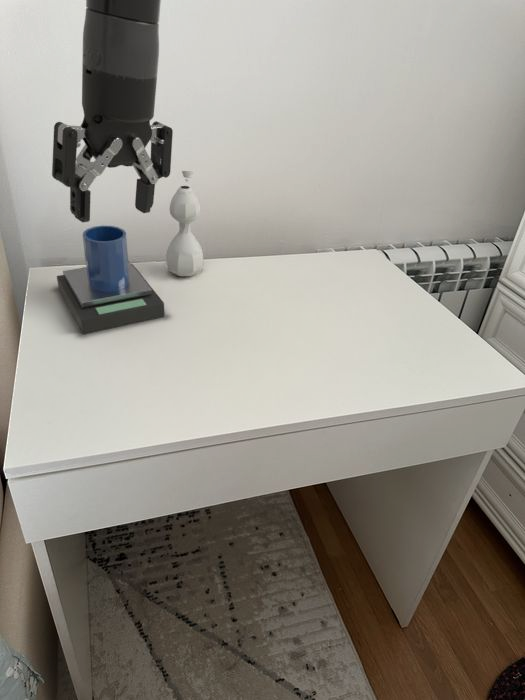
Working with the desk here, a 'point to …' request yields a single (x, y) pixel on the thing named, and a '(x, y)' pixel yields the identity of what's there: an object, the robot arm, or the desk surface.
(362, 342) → the desk surface
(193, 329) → the desk surface
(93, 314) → the scale
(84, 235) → the cup
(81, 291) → the scale pan
